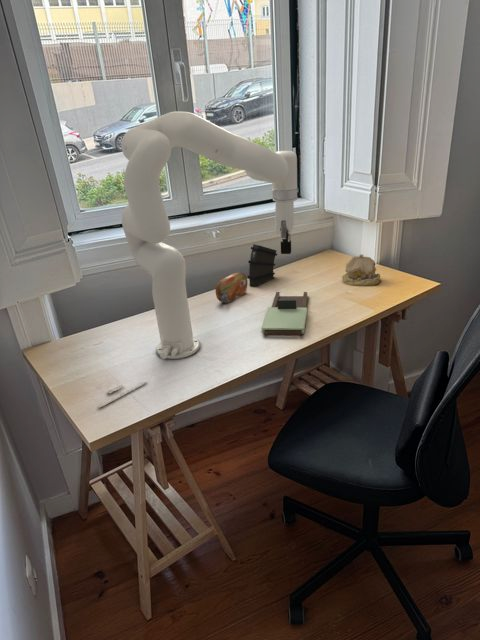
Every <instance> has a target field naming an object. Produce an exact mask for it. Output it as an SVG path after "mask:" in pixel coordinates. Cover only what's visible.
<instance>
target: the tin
mask: <svg viewBox="0 0 480 640" xmlns="http://www.w3.org/2000/svg"><path fill="white" fill-rule="evenodd" d="M247 289H248V277H247V276H246V274H245V273H243V272H234V273H231V274H230V275H228V276H226V277H224V278H222V279H220V280H219V281H218V282H217V284H216V286H215V297H216V299H217V301H219V302H221V303H225V304H229V303H231V302H233V301H234V300H236V299H237V297H242V296H243V295H245V293H246V291H247Z"/></svg>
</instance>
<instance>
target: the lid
mask: <svg viewBox="0 0 480 640" xmlns="http://www.w3.org/2000/svg"><path fill="white" fill-rule="evenodd" d="M277 302H278V307H272V306H271V307H270V306H269V307H267V309H266V312H265V316H264V319H263V321H262V325H261V327H260V328H261V334H265V330H302V333H301V335H303V334H305V328H306V322H307V317H308V307H306V308H298V307H297V305H296V299H278V300H277Z"/></svg>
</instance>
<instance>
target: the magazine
mask: <svg viewBox="0 0 480 640" xmlns="http://www.w3.org/2000/svg"><path fill="white" fill-rule="evenodd" d="M250 250H251V251H250V257H249V260H248V262H247V263H248V264H249V268H248V274H249V275H247V280H248V281H249V285H250V286H253V287H257V286H259V285H262V284H264V283H266V282H268V281H270V280H272V279H274V276H275V275H276V272H274V266H276V263H275V259H276V257H277V256H278V253H277V250H276V249H273V248H270V247H267V246H263V245H259V244H255V243H254V244H252V246H250Z"/></svg>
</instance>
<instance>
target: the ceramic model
mask: <svg viewBox="0 0 480 640" xmlns="http://www.w3.org/2000/svg"><path fill="white" fill-rule="evenodd" d="M376 272H377V267H376V261H375V260H374V259H373V258H371V257H370V256H364V254H359V256H358V255H357V256H355V255H354V256H352V257H351V258H350V259H349V260H348V261H347V262H346V263H345V274H343V283H344V284H347V285H349V286H375V285H378V284H379V283H380V281H381V274H380V273H376Z"/></svg>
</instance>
